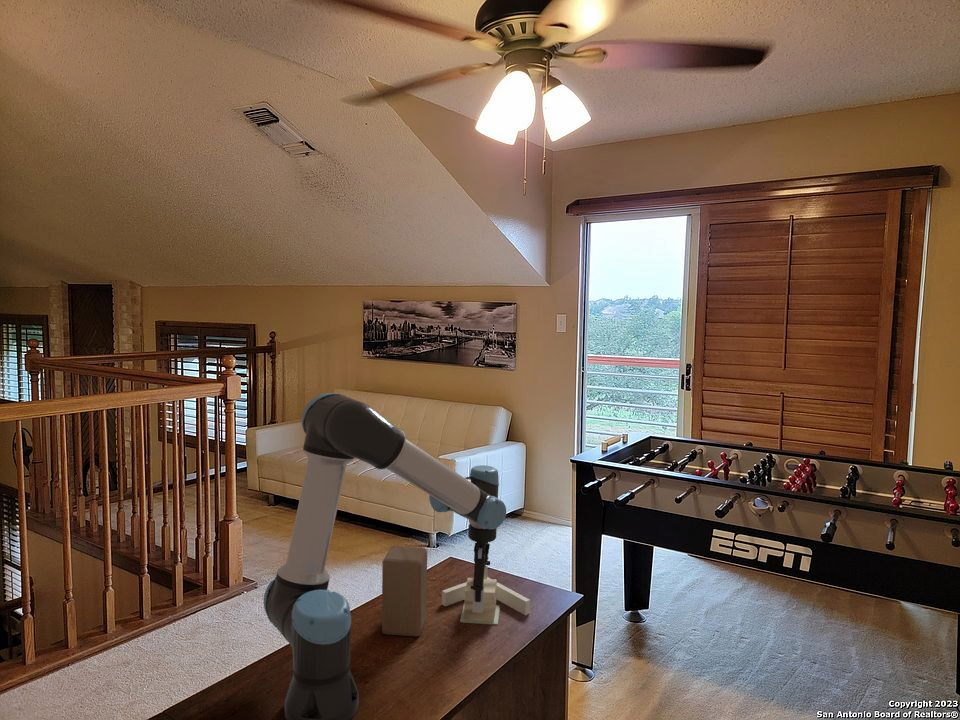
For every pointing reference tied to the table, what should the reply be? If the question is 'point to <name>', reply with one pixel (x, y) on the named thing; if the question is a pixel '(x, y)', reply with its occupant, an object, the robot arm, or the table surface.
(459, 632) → the table surface
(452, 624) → the table surface
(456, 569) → the table surface
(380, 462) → the robot arm
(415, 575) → the wooden block
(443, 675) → the table surface
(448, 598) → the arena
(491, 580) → the birch cube
